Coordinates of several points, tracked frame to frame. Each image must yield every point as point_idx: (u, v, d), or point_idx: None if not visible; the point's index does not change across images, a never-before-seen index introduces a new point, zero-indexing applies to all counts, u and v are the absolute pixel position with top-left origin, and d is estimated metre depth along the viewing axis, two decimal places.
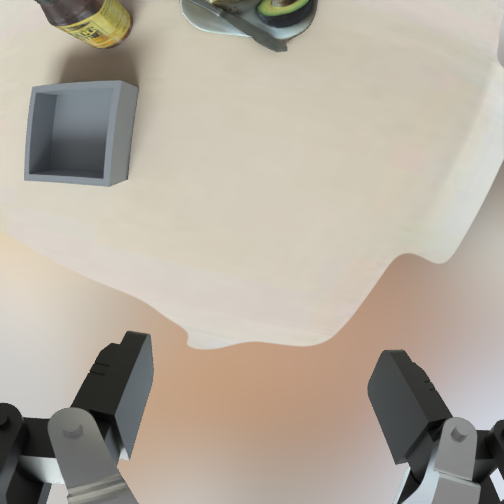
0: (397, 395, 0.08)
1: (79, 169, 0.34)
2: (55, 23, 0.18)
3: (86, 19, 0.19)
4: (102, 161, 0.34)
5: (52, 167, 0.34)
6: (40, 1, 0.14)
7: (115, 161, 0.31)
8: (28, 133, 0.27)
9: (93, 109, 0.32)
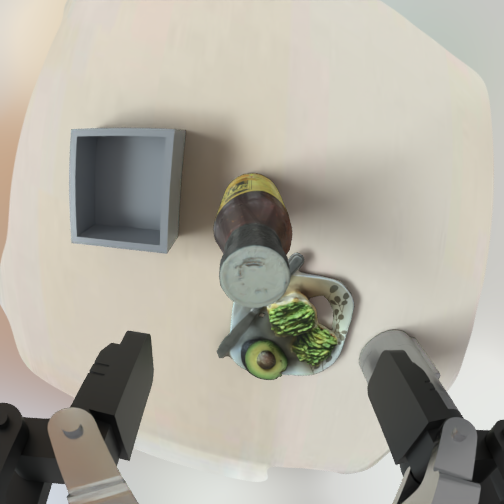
0: (397, 395, 0.08)
1: (95, 176, 0.33)
2: (217, 221, 0.24)
3: None
4: (104, 203, 0.34)
5: (98, 139, 0.32)
6: (226, 248, 0.20)
7: None
8: (118, 131, 0.27)
9: (155, 190, 0.34)
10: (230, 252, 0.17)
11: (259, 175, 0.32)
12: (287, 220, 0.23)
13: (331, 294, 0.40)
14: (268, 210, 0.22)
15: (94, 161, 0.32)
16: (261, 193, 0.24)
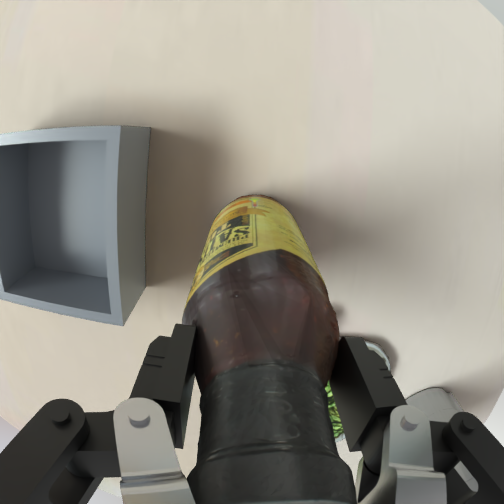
0: (351, 381, 0.09)
1: (29, 201, 0.21)
2: (186, 319, 0.11)
3: None
4: (43, 239, 0.22)
5: (30, 146, 0.19)
6: (201, 419, 0.08)
7: None
8: (38, 135, 0.14)
9: None
10: (205, 500, 0.04)
11: (267, 200, 0.20)
12: (333, 321, 0.11)
13: None
14: (298, 314, 0.09)
15: (25, 179, 0.20)
16: (278, 259, 0.12)
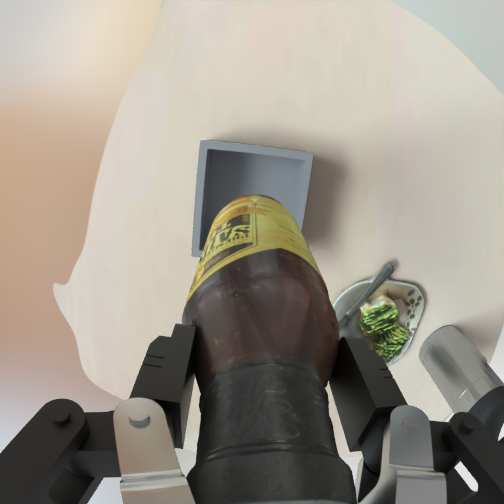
0: (351, 381, 0.09)
1: (209, 188, 0.36)
2: (186, 318, 0.11)
3: None
4: None
5: (213, 151, 0.35)
6: (201, 419, 0.07)
7: None
8: (257, 149, 0.30)
9: None
10: (204, 500, 0.04)
11: (267, 199, 0.20)
12: (334, 320, 0.10)
13: (408, 297, 0.43)
14: (298, 313, 0.09)
15: (209, 173, 0.36)
16: (278, 257, 0.12)
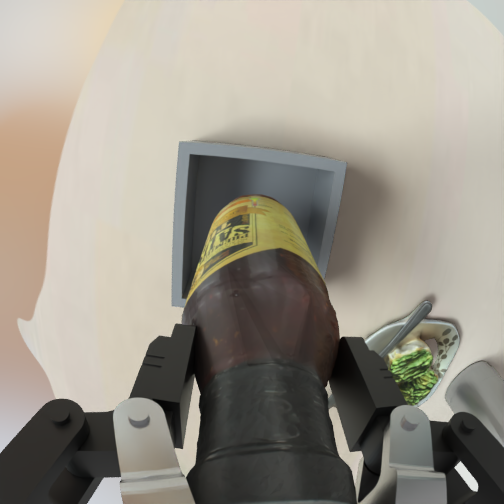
0: (351, 381, 0.09)
1: (196, 209, 0.26)
2: (186, 318, 0.11)
3: None
4: None
5: (201, 156, 0.25)
6: (201, 419, 0.07)
7: None
8: (264, 154, 0.20)
9: None
10: (204, 501, 0.04)
11: (267, 199, 0.20)
12: (334, 320, 0.10)
13: (442, 336, 0.33)
14: (298, 313, 0.09)
15: (195, 188, 0.25)
16: (278, 257, 0.12)
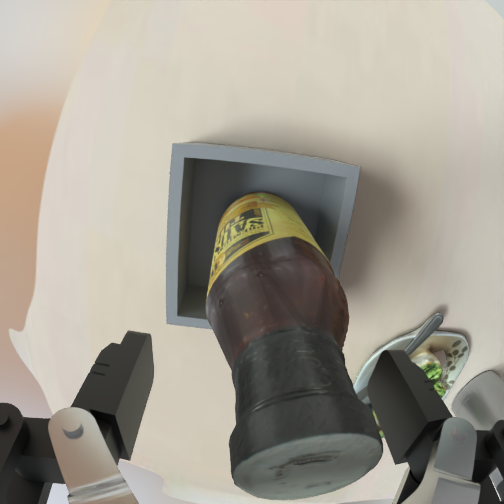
0: (397, 395, 0.08)
1: (192, 217, 0.24)
2: (212, 299, 0.12)
3: None
4: (205, 257, 0.25)
5: (198, 158, 0.23)
6: (237, 383, 0.09)
7: None
8: (268, 158, 0.18)
9: None
10: (257, 445, 0.06)
11: (273, 196, 0.21)
12: (344, 298, 0.12)
13: (451, 348, 0.31)
14: (316, 289, 0.11)
15: (192, 194, 0.23)
16: (293, 244, 0.13)
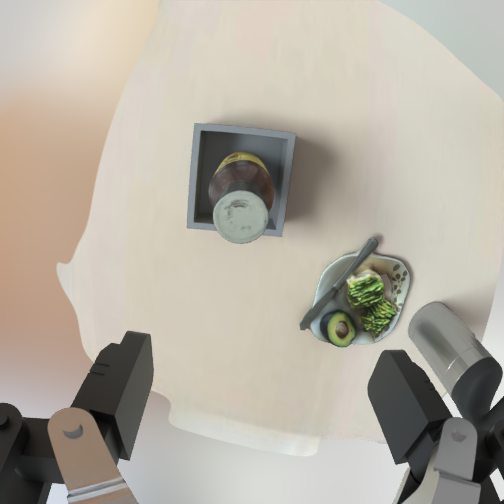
0: (397, 395, 0.08)
1: (202, 168, 0.39)
2: (211, 184, 0.28)
3: None
4: None
5: (206, 134, 0.38)
6: None
7: None
8: (244, 130, 0.33)
9: None
10: (221, 197, 0.21)
11: (248, 152, 0.37)
12: (269, 182, 0.27)
13: (393, 272, 0.46)
14: (253, 172, 0.26)
15: (202, 154, 0.39)
16: (248, 162, 0.29)
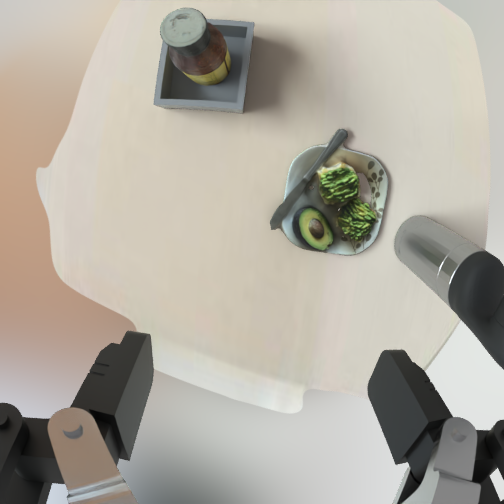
0: (397, 395, 0.08)
1: None
2: None
3: (175, 65, 0.29)
4: (180, 85, 0.39)
5: None
6: None
7: None
8: (209, 21, 0.32)
9: None
10: (168, 15, 0.20)
11: None
12: (220, 32, 0.26)
13: (369, 171, 0.44)
14: None
15: None
16: None
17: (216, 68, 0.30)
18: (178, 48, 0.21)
